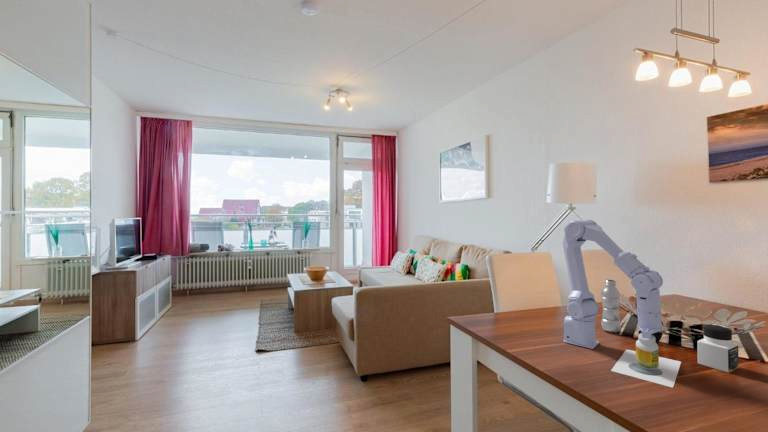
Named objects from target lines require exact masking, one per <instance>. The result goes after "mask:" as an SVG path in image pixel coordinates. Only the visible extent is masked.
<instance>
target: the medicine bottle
mask: <svg viewBox="0 0 768 432" xmlns="http://www.w3.org/2000/svg"><path fill="white" fill-rule="evenodd" d="M732 336H733V334H732V329H731V328H730V327H727V326H725V325H720V324H715V323H714V324H713V323H711V324H710V323H708V324H705V325H703V338H701V339H698V340H697V342H696V343H697V348H696V349H697V364H699V365H702V366H705V367H708V368H711V369H715V370H718V371H721V372H725V373H727V374H728V373H731V372H733V371H735V370H737V369H739V365H740V364H739V344H738V343H735V342H733V339H732V338H733V337H732Z"/></svg>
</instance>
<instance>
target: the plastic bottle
mask: <svg viewBox="0 0 768 432" xmlns="http://www.w3.org/2000/svg"><path fill="white" fill-rule="evenodd" d="M600 295H601V301H602V302H601V303H602V318H601V322H600V323H601V328H602V330H604V331H606V332H610V333H619V332H620V331H621V328H622V324H621V320H620V311H619V310H620V300H621V292H620V291H619V290H618V288H617V281H616V279H605V280H604V287H603V289H602V290H601V292H600Z"/></svg>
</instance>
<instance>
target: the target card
mask: <svg viewBox="0 0 768 432" xmlns="http://www.w3.org/2000/svg"><path fill="white" fill-rule="evenodd" d="M681 364H682V361H680V360H676V359H675V360H674V359H671V358H667V357H662V356H659V366H658V368H657V369H655V370H648V369H644V368H642V367H640V366H639V365H638V364H637V362H636V350H632V349H625V351H623V354H622V355H621V356H620V358H619V359H618V361H616V362H615V364H614V366H613V367H612V368H611V370H610V371H611V372H614V373H617V374H621V375H624V376H629V377H631V378H635V379H639V380H643V381H647V382H650V383H654V384H658V385H660V386H665V387H669V388H674V385H675V383H676V379H677V376H678V374H679V370H680V367H681Z"/></svg>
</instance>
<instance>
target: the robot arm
mask: <svg viewBox="0 0 768 432" xmlns="http://www.w3.org/2000/svg"><path fill="white" fill-rule="evenodd" d="M563 229H564V237H563V241H562V246H563V247H562V248H563V254H564V256H565V257H564V258H565V262H566V268H567V273H568V274H567V275H568V279H569V285H570V290H571V291H570V293H569V295H568V297H567V308H566V310H567V313H568V315H566V316H565V317H564V321H563V342H564V343H568V344H571V345H575V346H580V347H583V348H587V349H592V350H593V349H595V348H596V346H598V345H599V344H600V342H599V341H598V340H596V316H597V315H598V314H599V311H600V306H599V303H598V302H597V301H596V298H595V294H593V292H591V291H590V289H589V284H588V279H587V273H586V270H585V264H584V259H583V254H582V248H581V247H582V246H583V245H584V244H585V243H586V241H591V242H594V243H596V244H597V245H598V246H599V247H600V248H601V249H603V250H604V251H605V252H606V253H607V254H609V255H610V256H611V257H612V258H613V261H614V262H613V263H614V265H615V266H616V267H617V268H618V269H619V270H621V272H622V273H623V274H624V275H626V277H627V278H629V279H630V285H631V286H632V287H633V288H634V290H635V296H636V309H637V310H636V312H637V324H636V326H637V328H638V329H639V330H638V335H639V334H640V333H642V338H648V339H651V335H653V336H654V337H655V338H656V343H657V345H658V346H659V344H660V340H661V339H662V337H663V335H664V332H667V331H668V327H667V326H663V324H662V321H663V320H662V309H661V295H660V294H661V293H660V288H661V287H662V286H663V283H664V282H663V281H664V279H663V277H662V275H661V274H659V273H660V272H658V271H656V270H651V267H649V266H646V265H645V264H644V263H642V262H641V261H640V260H639V259H638V255H636V254H635V253H631V252H629V251H624V250H623V249H621V247H619V246H618V244H616V242H615V241H613V239H611V237H610V236H609V235H608V234H607V233H606V232H605V231H604V230H603V228H602V226H600V225H599V224H597V222H596V221H594V220H592V219H585V220H576V219H575V220H570V221H569V222H568V223H567V224H566V225H565V226H564V227H563ZM662 331H663V332H662Z"/></svg>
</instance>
